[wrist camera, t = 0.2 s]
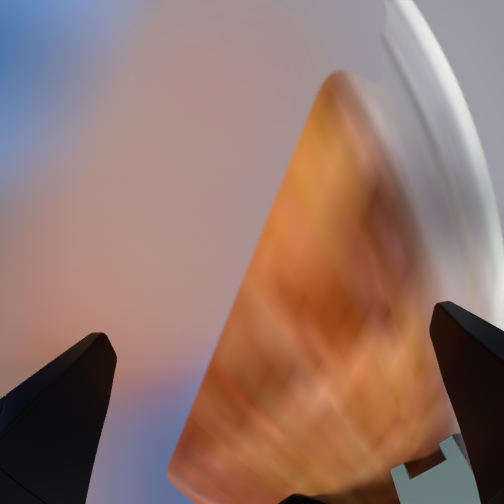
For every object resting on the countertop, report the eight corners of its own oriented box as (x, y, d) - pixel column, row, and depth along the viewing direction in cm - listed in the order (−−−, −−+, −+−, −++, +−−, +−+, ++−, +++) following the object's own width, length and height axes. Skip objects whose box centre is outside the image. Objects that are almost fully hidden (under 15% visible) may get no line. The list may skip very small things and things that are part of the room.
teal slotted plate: (395, 478, 28) (416, 547, 17) (389, 469, 28) (412, 543, 17) (454, 445, 27) (488, 509, 16) (451, 435, 26) (488, 502, 16)
